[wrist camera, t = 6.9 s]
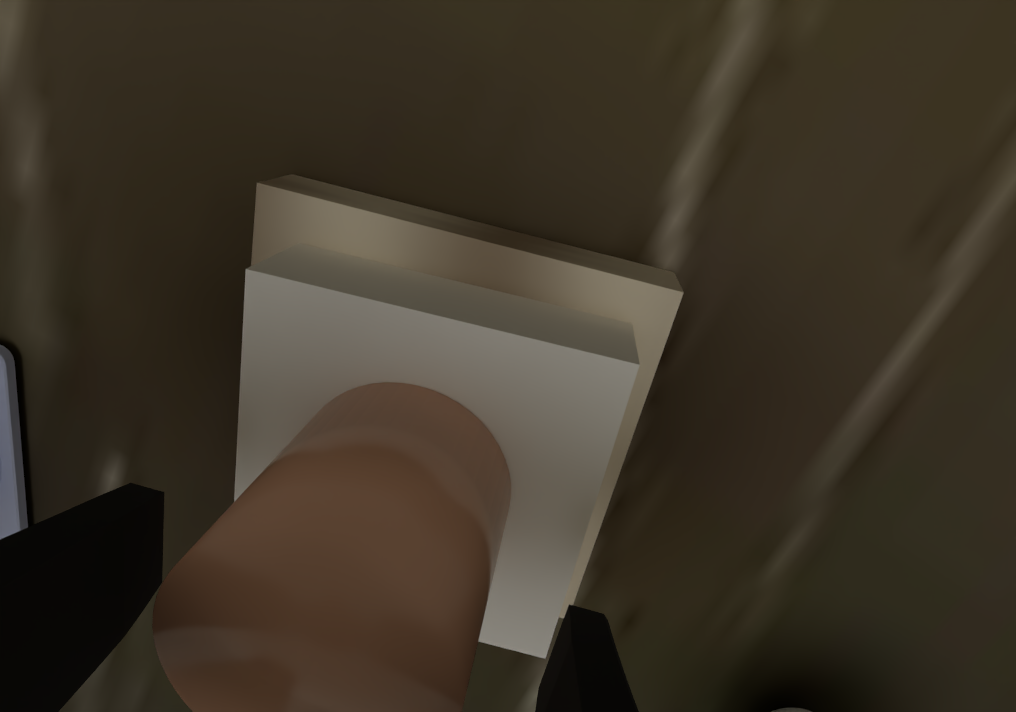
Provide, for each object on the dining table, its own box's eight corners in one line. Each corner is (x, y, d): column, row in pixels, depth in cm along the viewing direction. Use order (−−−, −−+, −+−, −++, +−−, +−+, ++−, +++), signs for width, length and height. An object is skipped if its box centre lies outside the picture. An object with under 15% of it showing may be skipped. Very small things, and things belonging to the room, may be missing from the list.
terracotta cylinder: (293, 542, 15) (157, 735, 10) (305, 359, 13) (146, 495, 9) (490, 591, 15) (439, 811, 10) (530, 411, 13) (491, 580, 8)
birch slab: (272, 480, 21) (232, 528, 18) (302, 171, 17) (257, 182, 15) (570, 561, 20) (567, 619, 18) (670, 265, 17) (683, 292, 14)
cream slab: (276, 516, 18) (230, 576, 16) (298, 243, 15) (246, 268, 13) (551, 586, 18) (545, 658, 15) (632, 323, 15) (639, 364, 12)
